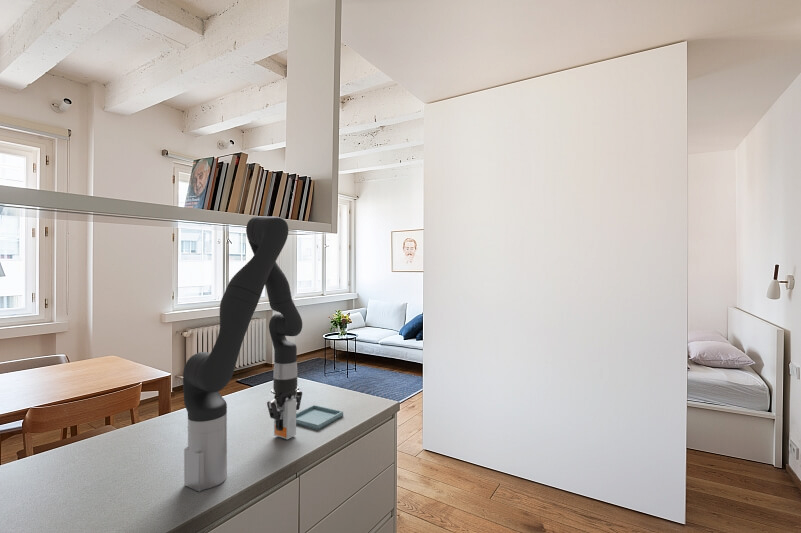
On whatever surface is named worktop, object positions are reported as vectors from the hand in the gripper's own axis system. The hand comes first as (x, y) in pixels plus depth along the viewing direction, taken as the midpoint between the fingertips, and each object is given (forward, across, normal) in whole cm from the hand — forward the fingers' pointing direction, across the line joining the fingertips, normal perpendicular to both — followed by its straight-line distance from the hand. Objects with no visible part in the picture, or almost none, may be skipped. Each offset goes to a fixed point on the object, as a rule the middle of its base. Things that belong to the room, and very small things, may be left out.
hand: (285, 427), depth 130 cm
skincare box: (+3, 0, 0) cm, 3 cm away
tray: (+3, +16, +1) cm, 17 cm away
